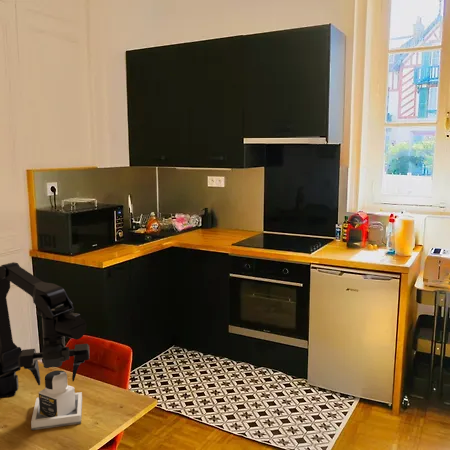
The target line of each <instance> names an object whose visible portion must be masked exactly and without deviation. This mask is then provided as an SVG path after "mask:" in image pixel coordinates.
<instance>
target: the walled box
mask: <svg viewBox="0 0 450 450" xmlns="http://www.w3.org/2000/svg"><path fill="white" fill-rule="evenodd" d="M75 408H76V409H75V410H73V411H72V412H70V413H69V414H67V415H64V416H57V417H49V418H48V417H46V416H43V415H40V406H39V396H38V397H36V399H35V403H34V408H33V412H32V417H31V421H30V425H31V427H30V428H31V431H35V430H37V431H38V430H42V429H51V428H58V427H65V426H72V425H78V424H79V425H80V424H82V413H83V412H82V411H83V392H82V391H81V392H80V391H79V392H75Z"/></svg>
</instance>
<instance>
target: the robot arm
mask: <svg viewBox="0 0 450 450" xmlns="http://www.w3.org/2000/svg"><path fill="white" fill-rule="evenodd" d="M11 283H12V284H13V285H14V286H16V287H18V288H19V289H20V290H22V291H23V292H25V293H26V294H28V295H29V296H30V297H32V302H33V304H34V305H35V306H36V307H37V308H38V309H39V310H38V311H36V315H37V316H39V317H40V316H41V322H42V323H41V325H42V328H41V329H42V340H43V346H42V349H41V350H42V352H36V348H29V349H27V348H26V349H22V347H20V346H17V345H16V344H15V343H14V340H13V333H12V327H11V320H10V314H9V307H8V299H7V296H8V294H9V292H10V289H11ZM73 304H74V303H73V302H72V300H71V299H70V298H69V295H68V294H67V292H66V290H65V289H64V288H63V286H61V285H58V284H56V283H52V282H45V281H42V280H41V279H39V278H38V277H37V276H35V275H33V274H32V273H30V271H27V270H26V269H25V268H23V267H22V266H20V265H19V263H17V262H9V263H5V264H1V265H0V398H5V397H6V398H7V397H14V396H16V393H17V391H18V389H19V387H20V386H19V377H18V374H17V373H16V372H19V371H21V368H23V369H24V370H29V371H30V372H31V374H32V375H33V377H34V379H35V381H36V384H37V385H38V386H41V376H40V375H41V374H40V367H39V361H40V360H41V361H42V365H43V368H44V369H49V368H55V367H56V368H60V367H62V366H63V362H64V363H65V362H66V361H69V360H70V357H74V358H73V366H72V375H71V378H72V379H71V380H72V382H75V380H76V379H75V378H76V377H77V371H78V370H79V367H80V365H81V364H83V363H85V361H88V360H90V345H89V344H88V343H79V344H74V349H73V348H72V349H71V348H69V346H66V341H65V339H66V338H70V339H72V340H76V341H77V340H79V339H81V338H82V337H84V336H85V334H86V332H87V329H88V328H87V327H88V325H87V322H86V320H85V319H84V318H82V317H81V314H80V313H77V312H76V313H75V312H74V311H75V310H76V309H75V307H74V305H73ZM61 306H63V307H61ZM38 360H39V361H38Z"/></svg>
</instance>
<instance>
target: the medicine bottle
mask: <svg viewBox="0 0 450 450" xmlns="http://www.w3.org/2000/svg"><path fill="white" fill-rule="evenodd" d="M44 386H45V388H44V389H41V390H40V391H38V397H39V406H40V415H43V416H46V417H48V418H49V417H57V416H64V415H67V414H69V413H70V412H72V411H73V410H75V409H76V408H75V393H76V391H75V387H74V386H72V385H69V384H68V373H67V372H66V371H64V370H52V371H50V372H48V373H47V374H45V376H44Z"/></svg>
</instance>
